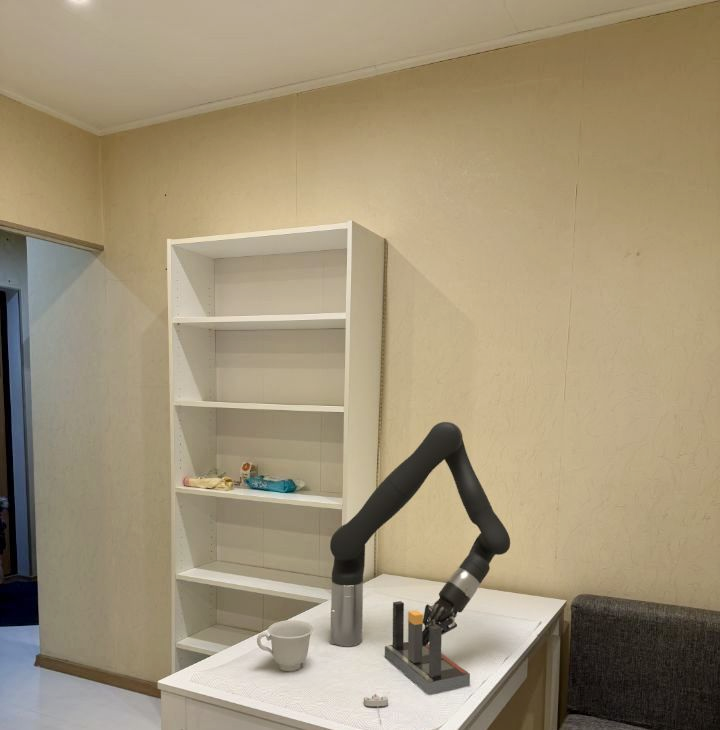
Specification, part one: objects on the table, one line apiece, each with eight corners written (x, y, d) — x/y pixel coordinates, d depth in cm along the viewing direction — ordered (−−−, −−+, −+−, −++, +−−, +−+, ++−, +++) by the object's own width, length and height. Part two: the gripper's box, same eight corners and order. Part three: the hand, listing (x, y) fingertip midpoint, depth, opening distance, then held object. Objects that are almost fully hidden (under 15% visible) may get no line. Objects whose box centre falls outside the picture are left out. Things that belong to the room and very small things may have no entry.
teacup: (252, 661, 169) (252, 624, 169) (305, 654, 174) (306, 617, 174) (261, 681, 157) (262, 641, 158) (318, 673, 163) (318, 634, 163)
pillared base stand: (428, 695, 152) (429, 632, 152) (384, 657, 173) (385, 601, 173) (469, 685, 157) (470, 624, 158) (422, 650, 178) (422, 596, 178)
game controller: (382, 698, 151) (382, 687, 151) (403, 722, 140) (404, 710, 141) (360, 702, 149) (360, 691, 149) (380, 727, 138) (380, 715, 138)
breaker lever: (414, 663, 162) (414, 615, 162) (407, 658, 165) (408, 611, 165) (422, 661, 163) (422, 614, 163) (415, 656, 166) (416, 610, 166)
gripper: (437, 574, 175) (399, 626, 170) (465, 588, 163) (425, 644, 158) (454, 590, 177) (416, 642, 172) (482, 605, 165) (443, 661, 160)
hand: (420, 643), depth 165 cm, fingers closed
